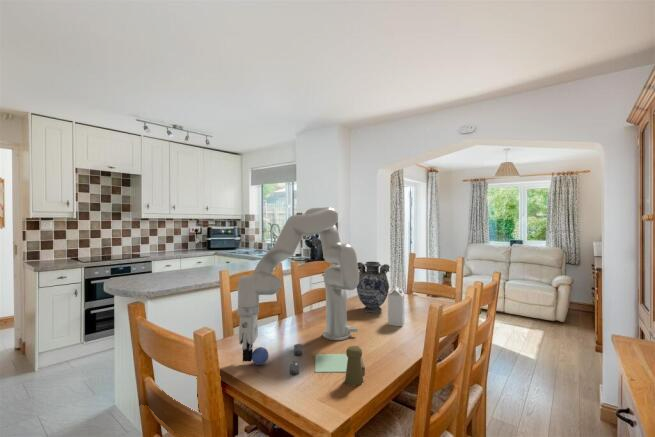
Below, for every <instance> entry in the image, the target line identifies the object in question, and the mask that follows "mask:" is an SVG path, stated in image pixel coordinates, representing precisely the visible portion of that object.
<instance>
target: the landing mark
mask: <svg viewBox="0 0 655 437" xmlns="http://www.w3.org/2000/svg"><path fill="white" fill-rule="evenodd" d="M314 360H315V362H314V364H315V365H314V366H315V367H314V373H346V369H347V361H348V357H347V355H346V353H327V354H326V353H324V354H323V353H322V354H321V353H320V354H319V353H317V354H316V353H315V359H314Z"/></svg>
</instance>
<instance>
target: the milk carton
mask: <svg viewBox="0 0 655 437" xmlns="http://www.w3.org/2000/svg"><path fill="white" fill-rule="evenodd" d="M404 324H405V293H404V291H403V289H402V288H400V287H398V285H395V287H394V289H392V290H391V291H390V292H388V295H387V325H388V326H395V327H404Z"/></svg>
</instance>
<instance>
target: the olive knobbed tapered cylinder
mask: <svg viewBox="0 0 655 437" xmlns="http://www.w3.org/2000/svg"><path fill="white" fill-rule="evenodd" d="M358 346H359V345H351V346H348V347H347V348H346V351H345V354H346V355H347V357H348V361H347V369H346V372H345V377H344V382H345V384H347V385H348V384H349V386H351V385H355V386H354V387H358V386H357V385H359V386H361V384H362V383H363V384H364V375H363V374H362V366H361V359H360V358H361V357H362V356H363V350H362V348H361V347H360V346H359V347H358ZM362 358H363V357H362ZM363 384H362V385H363Z"/></svg>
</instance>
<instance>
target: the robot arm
mask: <svg viewBox="0 0 655 437" xmlns="http://www.w3.org/2000/svg"><path fill="white" fill-rule="evenodd" d="M338 220H339V215H338V212H337V210H335V209H334V208H333V207H312V208H311V207H310V208H309V209H307V210H306V211H305V212H304V214H294V215H291V216H289V217H288V219H286V222H285V223H284V226H283V228H282V230H281V231H280V233H279V235H278V237H277V239H276V241H275V243H274V245H273V246H272V247H271V248H270V249H269V250H268V251H267V252H266V253H265V254H264V255H263V256H262V257H261V259H260V260H259V262H258V263H257V265H256V267H255V268H254V270H253V272H252V274H251V275H242V276H240V277H239V278H238V282H237V283H238V284H237V316H239V325H238V326H239V327H238V344H239V345H242V346H241V347H242V362H252V361H253V360H252V353H253V351H254V349H253V345H254V343H255V342H256V340H257V339H258V336H259V329H258V328H259V327H258V326H259V324H258V322H259V321H258V315H259V312H260V296H272V295H275V294H277V293H279V292H280V290H281V288H282V281H281V279H280V277H278V275H274V274H272V273H273V271H274V269H275V268H276V267H277V266H278V265H279V264H280V263H282V262H284V261H286V260H288V259H289V258H291V257H293V256H294V255H295V252H296V250H297V248H298V246H299V244H300V242H301V240H302V238H303V236H304V237H311V236H314V235H317V234H318V235H319V239H320V243H321V244H320V245H321V249H322V254H323V259H324V261H325V262H326V263H328V264H331V265H330V266H328V267H326V268H325V270H324V273H323V282H324V288H325V329H324V330H323V332H322V337H323V338H324V339H327V340H329V341H330V340H331V341H343V340H348V339H349V338H350V337H351V333H358V327H355V326H350V325H348V305H347V304H348V300H347V299H348V296H347V291H354V290H356V289H357V286H358V284H359V270H360V269H358V263H359V262H358V258H357V253H356V251H355V249H354V247H353V246H352V245H350V244H348V243H342V242H341V238H340V235H339V231H338V230H339V229H338V227H337V222H338Z"/></svg>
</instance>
